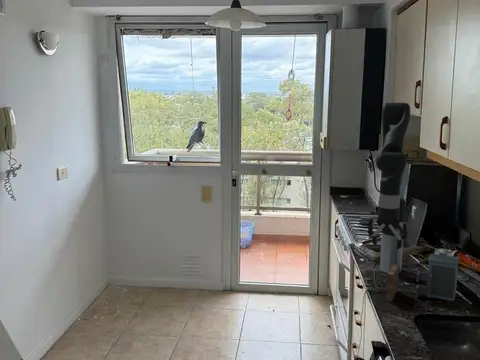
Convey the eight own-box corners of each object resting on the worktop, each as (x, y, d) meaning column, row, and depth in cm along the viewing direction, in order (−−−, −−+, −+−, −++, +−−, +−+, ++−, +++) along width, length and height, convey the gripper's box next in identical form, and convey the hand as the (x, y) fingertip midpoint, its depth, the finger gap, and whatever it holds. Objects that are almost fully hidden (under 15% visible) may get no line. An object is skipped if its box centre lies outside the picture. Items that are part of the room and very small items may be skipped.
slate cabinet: (419, 287, 199) (421, 252, 197) (456, 293, 193) (459, 257, 190) (415, 297, 189) (417, 260, 186) (454, 304, 183) (457, 266, 180)
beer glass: (451, 285, 202) (454, 250, 199) (448, 290, 196) (450, 254, 194) (434, 281, 206) (436, 247, 203) (430, 286, 200) (432, 251, 197)
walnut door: (392, 290, 196) (393, 264, 195) (400, 291, 195) (402, 265, 193) (386, 301, 186) (387, 273, 184) (395, 302, 184) (396, 275, 183)
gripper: (410, 205, 181) (408, 247, 184) (372, 201, 188) (370, 241, 191) (407, 209, 175) (404, 252, 178) (367, 205, 181) (365, 247, 184)
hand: (386, 247), depth 184 cm, fingers open, 8 cm apart
